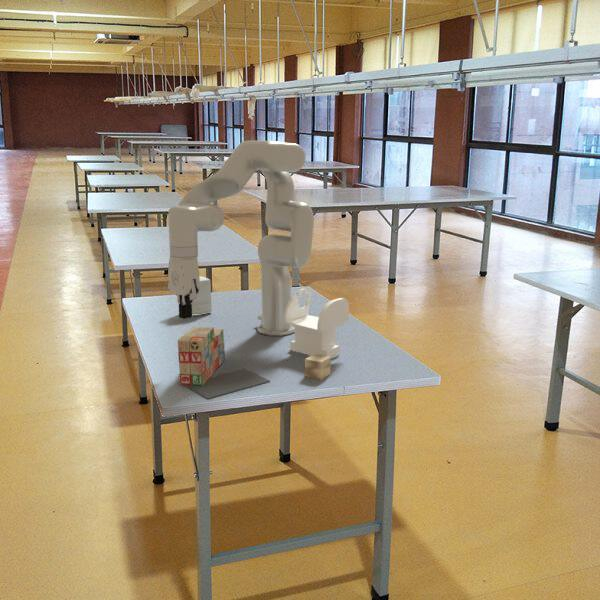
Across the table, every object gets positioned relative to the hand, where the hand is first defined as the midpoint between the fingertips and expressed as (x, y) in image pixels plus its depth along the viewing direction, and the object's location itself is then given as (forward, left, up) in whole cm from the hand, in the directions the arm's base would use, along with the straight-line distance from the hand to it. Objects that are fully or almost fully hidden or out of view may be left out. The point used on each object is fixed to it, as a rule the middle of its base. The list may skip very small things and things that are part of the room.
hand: (185, 317), depth 189 cm
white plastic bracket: (+14, +36, -14) cm, 41 cm away
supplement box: (-46, +31, -14) cm, 57 cm away
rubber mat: (+19, +1, -14) cm, 23 cm away
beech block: (+29, +24, -14) cm, 40 cm away
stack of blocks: (+8, +1, -14) cm, 16 cm away
